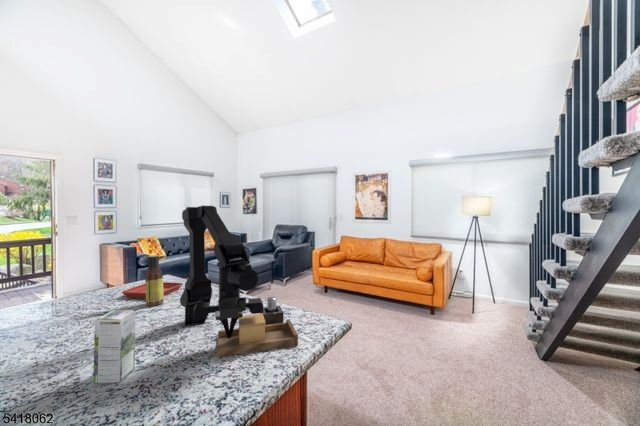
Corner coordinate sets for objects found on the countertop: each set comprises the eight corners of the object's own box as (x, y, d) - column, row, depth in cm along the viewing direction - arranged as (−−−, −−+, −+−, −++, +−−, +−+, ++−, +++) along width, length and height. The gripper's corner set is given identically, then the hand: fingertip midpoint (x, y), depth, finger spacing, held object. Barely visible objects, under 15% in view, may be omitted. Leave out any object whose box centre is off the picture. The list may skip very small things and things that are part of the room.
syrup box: (110, 369, 67) (110, 309, 67) (135, 368, 68) (135, 309, 68) (92, 384, 61) (92, 319, 61) (121, 383, 62) (121, 318, 62)
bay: (216, 357, 73) (216, 345, 73) (218, 337, 85) (218, 327, 85) (297, 345, 80) (297, 334, 80) (289, 328, 92) (289, 319, 92)
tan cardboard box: (239, 347, 77) (239, 325, 77) (238, 336, 84) (238, 316, 84) (265, 343, 80) (265, 322, 80) (262, 333, 86) (262, 313, 86)
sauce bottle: (166, 302, 117) (167, 254, 116) (156, 307, 110) (156, 257, 110) (152, 301, 117) (152, 254, 117) (141, 306, 111) (141, 256, 111)
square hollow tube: (262, 328, 91) (262, 314, 91) (260, 320, 98) (260, 307, 98) (283, 325, 93) (283, 312, 93) (279, 318, 100) (279, 305, 100)
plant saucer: (149, 287, 139) (149, 281, 139) (184, 289, 137) (184, 282, 137) (120, 299, 121) (120, 291, 121) (159, 301, 119) (159, 293, 119)
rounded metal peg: (268, 320, 94) (268, 299, 94) (266, 317, 96) (266, 297, 97) (276, 319, 95) (277, 298, 95) (274, 316, 98) (274, 296, 98)
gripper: (190, 294, 69) (189, 356, 69) (265, 288, 75) (265, 346, 75) (195, 283, 80) (195, 337, 80) (261, 279, 86) (261, 329, 86)
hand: (229, 337), depth 80 cm, fingers closed
